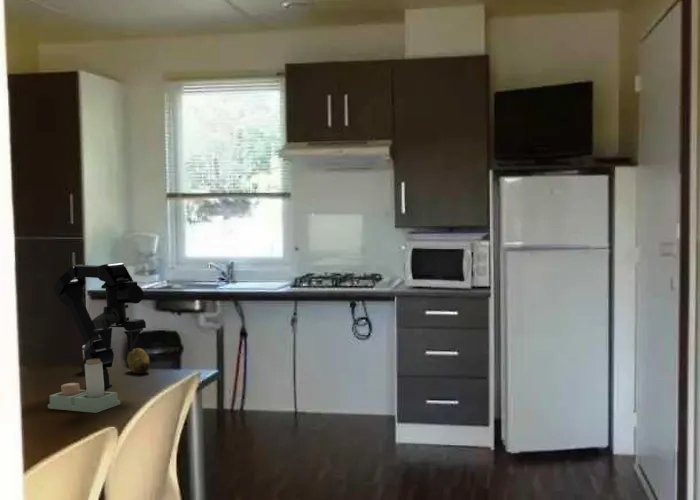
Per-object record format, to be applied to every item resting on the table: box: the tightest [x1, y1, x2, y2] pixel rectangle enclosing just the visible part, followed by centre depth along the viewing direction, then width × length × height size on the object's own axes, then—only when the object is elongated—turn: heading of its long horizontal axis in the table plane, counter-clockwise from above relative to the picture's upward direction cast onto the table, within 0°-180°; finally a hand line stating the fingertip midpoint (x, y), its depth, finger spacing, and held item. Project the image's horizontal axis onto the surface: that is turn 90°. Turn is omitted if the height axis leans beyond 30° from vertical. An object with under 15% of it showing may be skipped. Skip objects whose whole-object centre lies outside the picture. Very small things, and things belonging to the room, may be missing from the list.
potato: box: [126, 347, 151, 374], centre depth 291 cm, size 8×13×8 cm, turn 10°
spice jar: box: [84, 358, 106, 398], centre depth 240 cm, size 5×5×13 cm
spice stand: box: [47, 382, 121, 414], centre depth 243 cm, size 19×10×6 cm, turn 63°
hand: (119, 351), depth 260 cm, fingers open, 9 cm apart
